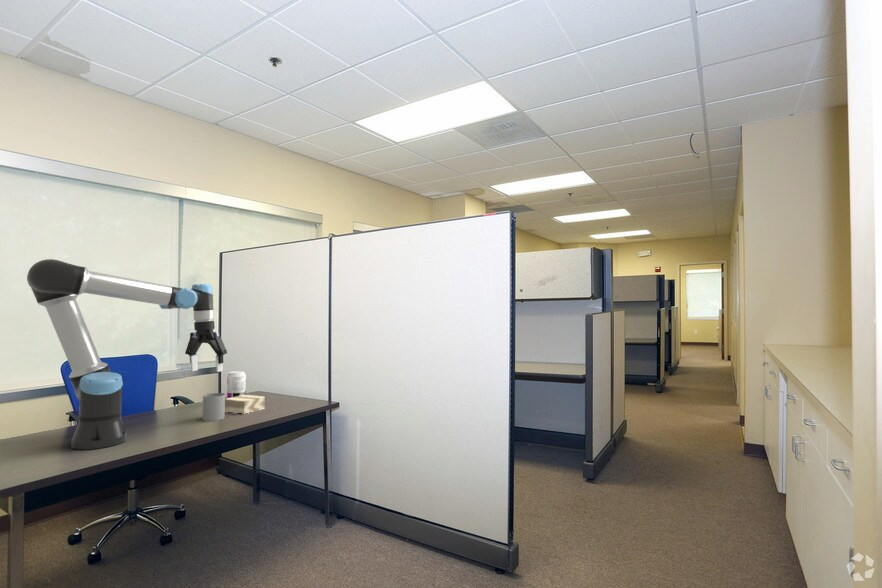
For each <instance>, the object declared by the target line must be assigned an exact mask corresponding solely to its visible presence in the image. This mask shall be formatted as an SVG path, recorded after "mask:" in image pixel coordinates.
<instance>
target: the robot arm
mask: <svg viewBox="0 0 882 588" xmlns="http://www.w3.org/2000/svg"><path fill="white" fill-rule="evenodd" d="M26 281H27V284H28V285H29V287H30V289H31V291H32V293H33V296H34V298H35V299H36V302H37V304H38V305H39V306H42V307H44V308H45V309H46V312H47V314H48V316H49V320H50V321H51V324H52V325H53V329H54V330H55V333H56V335H57V337H58V340H59V343H60V345H61V347H62V349H63V352H64V354H65V357H66V359H67V361H68V364H69V367H70V369H71V372H70V374H69V375H68V378H69V380H70V381H69V382H70V383H71V385H72V388H73V389H74V395H75V397H76V398H77V400H78V401H79V402H78V403H79V404H78V405H79V406H78V423H77V426H76V427H75V428H76V429H75V431H74V434H73V436H72V438H71V445H70V447H71V448H72V447H73V448H77V449H76V450H95V449H102V448H108V447H112V446H116V445H119V444H122V443H124V442H125V441H127V436H128V434H127V431H126V430H127V429H126V427H125V425H124V423H123V419H122V397H123V395H122V394H123V392H122V391H123V386H124V383H123V377H122V374H119V373H117V372H111V369H110V367H109V365H108V363H107V362H103V361H102V360H101V359H100V355H99V353H98V351H97V348H96V346H95V343H94V341H93V339H92V336H91V334H90V331H89V328H88V326H87V324H86V322H85V318H84V316H83V313H82V311H81V309H80V306H79V304H78V301H77V298H78V297H79V296H80V295H82V294H90V295H95V296H102V297H106V298H108V297H109V298H115V299H119V300H120V299H121V300H128V301H134V302H141V303H147V304H153V305H159V307H160V309H162V310H173V309H185V310H188V309H190V308H192V309H193V321H194V323H193V325H194V326H193V327H194V332H190V334H189V340H188V343H187V346H186V349H185V355H188V356H189V364H190V369H191V370H190V371H191V372H196V371H199V364H198V355H197V352H198V351H199V349H200V347H201V345H202V344H207V345H209V346H210V348H211V349H212V350H213V352H214V353H215V354H216V356H215V369H216V370H215V371H216V373H219V372H223V371H224V367H223V366H224V355H226V354H228V351H227V348H226V346H225V344H224V341H223V339H222V337H221V332H220V331H214V330H215V320H214V319H215V314H214V313H215V312H214V293H213V287H212V285H211V284H210V283H197V284H192V286H191V288H187V287H185V288H183V287H176V286H171V285H165V284H161V283H155V282H152V281H151V282H150V281H145V280H139V279H134V278H129V277H122V276H117V275H113V274H107V273H102V272H101V273H100V272H95V271H90V270H89V269H88V268H87V267H86V266H80V265H76V264H72V263H69V262H64V261H61V260H59V259H55V258H54V259H53V258H49V259H47V258H46V259H42V260H39V261H38V262H36V263H33V265H32V266H31V267H30V268H29V270H28V272H27V275H26ZM73 448H72V449H73Z"/></svg>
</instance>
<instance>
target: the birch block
mask: <svg viewBox="0 0 882 588" xmlns="http://www.w3.org/2000/svg"><path fill="white" fill-rule="evenodd" d="M265 400H266V396H263V395H256V394H255V395H254V394H247V393H245V395H240V396H236V397H231V398H227V397H226V398H225V413H228V412H234V413H233V414H236V413H242V414H241V415H243V414H245V413H248V414H250V413H249V412H252V413H255V412H258V410H259V411H262V409H263V410H265V408H266V407H265V405H266V404H265V403H266V402H265ZM254 411H255V412H254ZM245 415H246V414H245Z"/></svg>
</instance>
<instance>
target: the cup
mask: <svg viewBox="0 0 882 588" xmlns="http://www.w3.org/2000/svg"><path fill="white" fill-rule="evenodd" d="M225 399H226V394H225V393H222V392H215V393H214V392H213V393H212V392H211V393H206V394H203V395H202V421H203V420H204V421H203V422H217V421H216V420H219V421H222V420H221V419H223V420H224V418H225V416H226V415H225V414H226V412H225Z"/></svg>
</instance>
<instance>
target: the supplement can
mask: <svg viewBox="0 0 882 588" xmlns="http://www.w3.org/2000/svg"><path fill="white" fill-rule="evenodd" d="M226 381H227V383H226V385H227V386H226V399H227V398H231V397H236V396H240V395H245V394H247V393H246V390H247V389H246V388H247V387H246V386H247V385H246V382H247V374H246V373H245V371H244V370H236V371H229V372H228V374H227V379H226Z"/></svg>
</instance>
